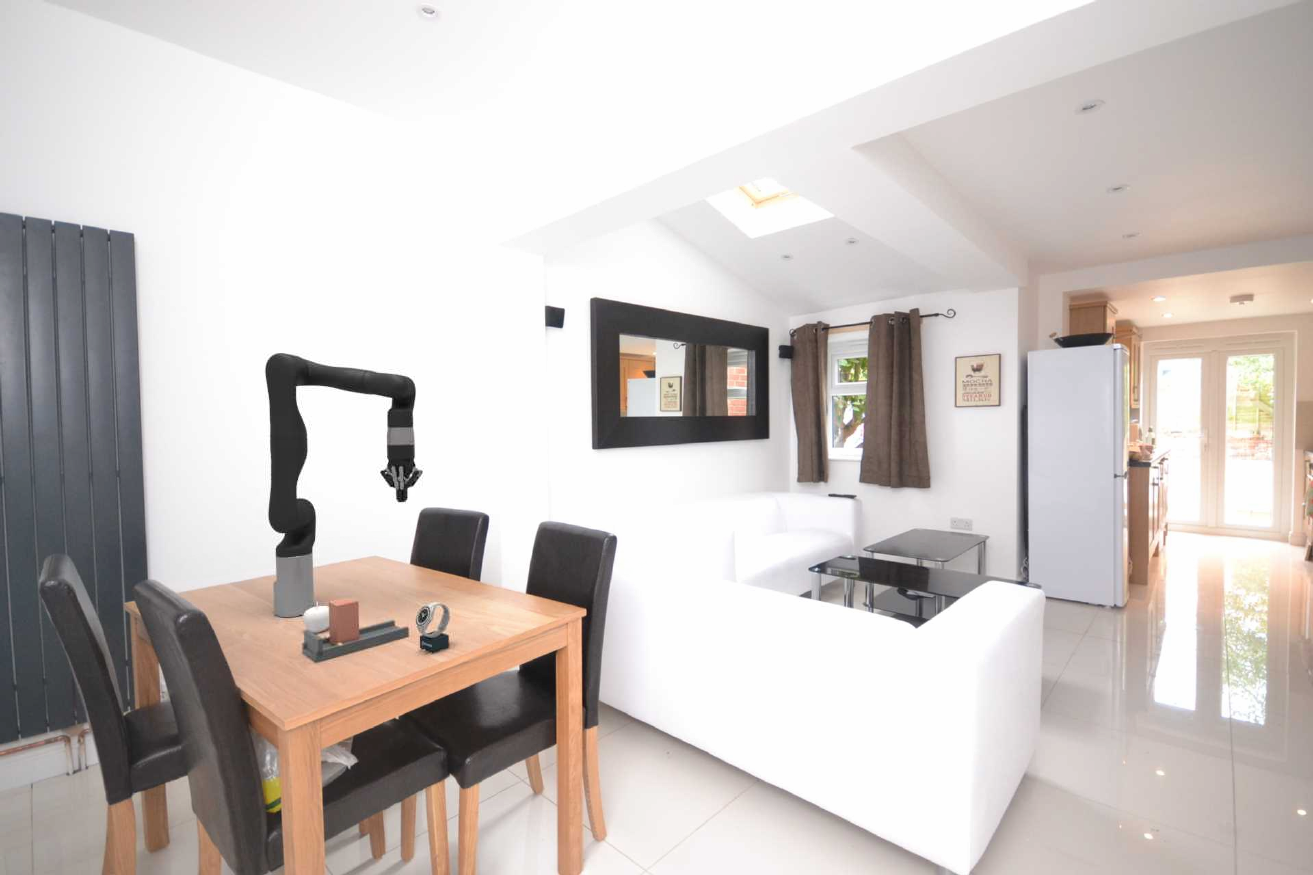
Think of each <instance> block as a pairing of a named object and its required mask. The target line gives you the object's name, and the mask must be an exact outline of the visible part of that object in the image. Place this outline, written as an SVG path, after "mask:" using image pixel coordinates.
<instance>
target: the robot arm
mask: <svg viewBox="0 0 1313 875" xmlns="http://www.w3.org/2000/svg"><path fill="white" fill-rule="evenodd" d="M264 369H265V370H264V372H265V373H264V374H265V381H266V387H267V394H268V402H269V403H268V404H269V447H270V448H269V450H270V452H269V453H270V492H269V503H268V512H267V513H268V514H267V515H268V522H269V525H270V527H271V528H272V529H273V531H275V532H276V533H279V534H281V535H282V534H284V536H283V538H282V540H281V541H280V542H279V543H278V544H277V545H276V546H275V573H276V574H275V575H276V578H275V580H276V581H274V582H273V610H274V612H273V614H274V615H276V616H278V617H280V618H292V617H293V618H294V617H300V616H299V615H301V616H303V615H304V613H305V611H307V610H308V609H310V608H313V607H315V606H314V605H315V603H314V602H315V601H314V600H315V595H314V594H315V592H314V591H315V590H314V587H315V586H314V564H313V563H314V556H313V555H314V554H313V550H314V549H313V548H314V545H315V542H316V535H317V534H316V532H317V530H316V528H317V527H316V526H317V515H316V509H315V507H314V504H313V503H312V501H310V500H308V499H306V498H301V497H299V498H298V497H297V496H298V494H297V493H298V490H297V488H298V481H299V478H300V476H301V473H302V471H303V468H304V465H305V464H306V462H307V461H306V460H307V457H308V453H309V452H308V447H309V446H308V430H307V427H306V423H305V422H304V419H303V416H302V415H301V412H300V409H299V407H298V401H297V387H309V386H310V387H312V386H313V387H314V386H317V387H325V388H333V389H338V390H340V391H345V392H350V393H355V394H356V393H357V394H362V395H363V394H364V395H370V396H371V395H372V396H373V395H375V396H378V397H383V398H387V399H391V407H389V409H388V410H387V412H386V413H387V414H386V416H387V417H386V419H387V431H386V458H387V463H386V468H384V469H383V470H380V472H379V473H380V475H381V477H383V480H384V481H385V482H386V483H387V485H388V487H390V488H393V489H395V498H396V499H395V500H396V501H397V503H406V502H407V500H408V499H409V497H408V495H409V493H408V490H409V489H410V488H413V487H414V486H415V485H416V483H417V482H418V481H419V479H420V478H421V476H422V474H423V470H422V469H419V468H417V467H416V463H415V458H416V449H415V448H416V447H415V445H416V444H415V442H416V441H415V431H414V409H415V403H416V394H417V390H416V389H417V388H416V385H415V382H414V381H413V379H412V378H411V377H410V376H409V377H408V376H406V375H401V374H395V373H387V372H377V371H374V370H370V369H363V368H355V367H345V366H342V367H341V366H332V365H326V364H322V363H318V362H315V361H311V360H309V359H305V358H303V357H300V356H299V355H295V354H290V353H284V352H278V353H274V354H272V355H271V356H270V357H269V358H268V359H267V361H266V364H265V368H264Z"/></svg>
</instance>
